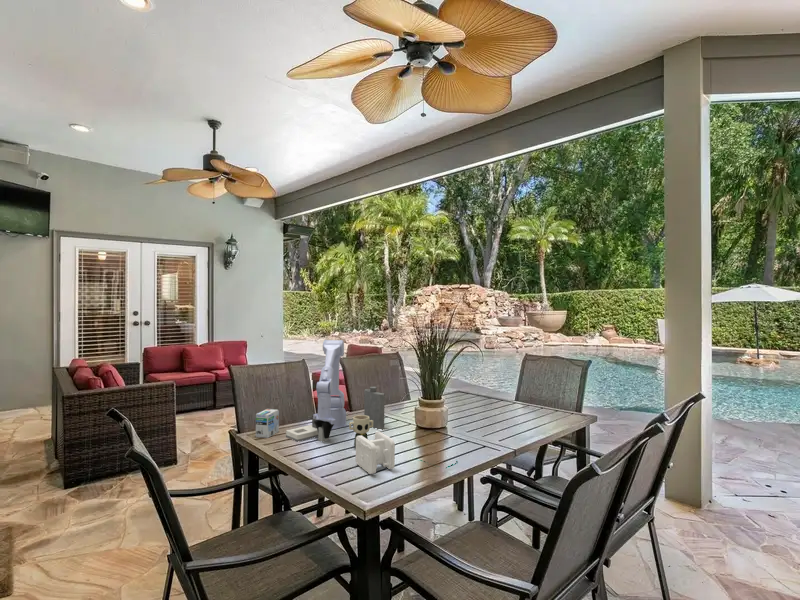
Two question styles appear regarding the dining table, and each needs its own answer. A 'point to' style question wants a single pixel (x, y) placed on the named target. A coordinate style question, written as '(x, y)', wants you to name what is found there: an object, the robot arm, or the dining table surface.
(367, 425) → the character mug
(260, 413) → the light bulb box
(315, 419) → the twin plug
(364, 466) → the cable organizer
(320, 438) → the plug
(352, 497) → the dining table surface
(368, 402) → the hip flask
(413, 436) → the dining table surface
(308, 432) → the power strip
